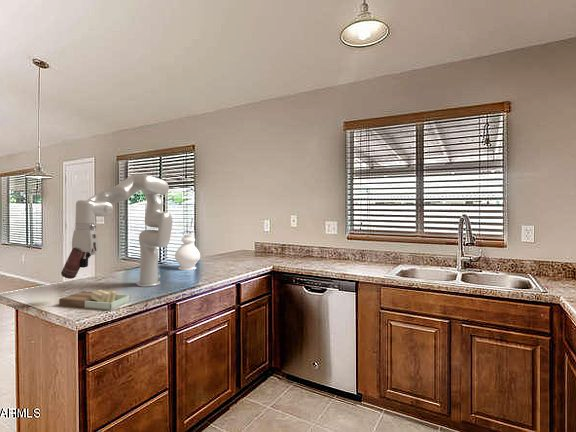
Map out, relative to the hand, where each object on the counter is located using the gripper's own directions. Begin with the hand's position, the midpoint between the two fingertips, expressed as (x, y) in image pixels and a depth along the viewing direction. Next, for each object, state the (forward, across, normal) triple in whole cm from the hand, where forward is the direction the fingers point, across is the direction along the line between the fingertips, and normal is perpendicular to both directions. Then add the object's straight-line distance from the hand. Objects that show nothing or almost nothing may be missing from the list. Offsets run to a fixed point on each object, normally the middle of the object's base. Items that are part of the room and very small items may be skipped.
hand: (83, 266), depth 154 cm
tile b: (+13, -11, 0) cm, 17 cm away
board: (+16, 0, 0) cm, 17 cm away
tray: (+16, -13, 0) cm, 21 cm away
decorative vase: (+16, -9, -92) cm, 94 cm away
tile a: (+14, -8, 0) cm, 16 cm away
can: (+5, +7, +1) cm, 9 cm away
